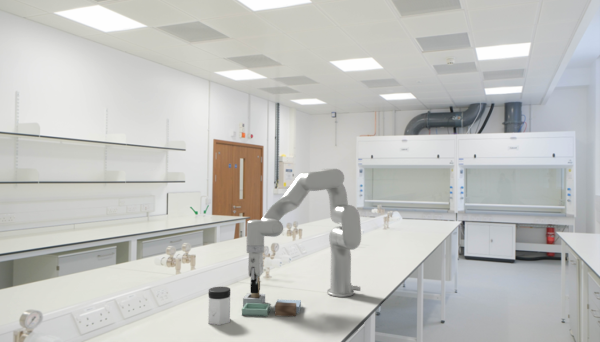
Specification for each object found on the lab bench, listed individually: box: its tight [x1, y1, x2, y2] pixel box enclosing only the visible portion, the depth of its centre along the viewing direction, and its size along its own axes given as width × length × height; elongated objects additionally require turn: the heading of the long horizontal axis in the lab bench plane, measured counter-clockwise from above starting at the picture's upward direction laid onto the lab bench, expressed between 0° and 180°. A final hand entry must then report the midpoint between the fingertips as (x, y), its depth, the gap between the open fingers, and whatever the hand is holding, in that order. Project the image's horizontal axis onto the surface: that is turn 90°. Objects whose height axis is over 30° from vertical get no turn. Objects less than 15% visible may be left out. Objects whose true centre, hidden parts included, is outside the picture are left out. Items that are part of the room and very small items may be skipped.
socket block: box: [242, 292, 266, 308], centre depth 176 cm, size 8×8×4 cm
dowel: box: [250, 275, 260, 298], centre depth 177 cm, size 4×4×12 cm
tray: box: [241, 303, 271, 317], centre depth 166 cm, size 10×8×2 cm
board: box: [273, 299, 302, 314], centre depth 171 cm, size 10×9×3 cm
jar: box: [207, 286, 231, 326], centre depth 155 cm, size 9×8×12 cm
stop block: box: [274, 301, 297, 317], centre depth 164 cm, size 8×4×4 cm, turn 85°
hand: (255, 291), depth 177 cm, fingers closed on dowel, 3 cm apart
